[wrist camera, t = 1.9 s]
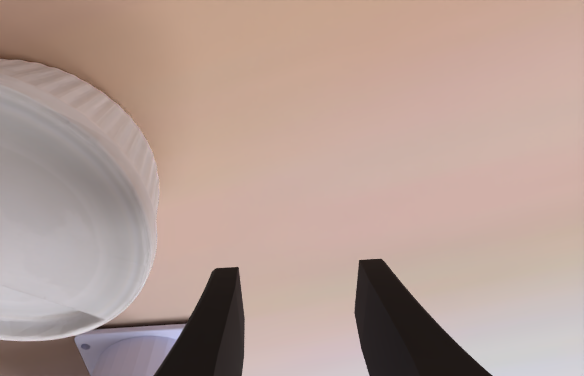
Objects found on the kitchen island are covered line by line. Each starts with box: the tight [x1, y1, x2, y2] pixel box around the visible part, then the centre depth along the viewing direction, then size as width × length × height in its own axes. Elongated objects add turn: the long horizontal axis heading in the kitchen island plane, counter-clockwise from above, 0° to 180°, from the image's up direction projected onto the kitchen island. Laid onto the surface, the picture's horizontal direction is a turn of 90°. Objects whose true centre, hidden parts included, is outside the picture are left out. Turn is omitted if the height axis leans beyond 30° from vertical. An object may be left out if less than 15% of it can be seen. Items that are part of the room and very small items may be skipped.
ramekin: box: [0, 59, 160, 341], centre depth 16 cm, size 11×11×5 cm
